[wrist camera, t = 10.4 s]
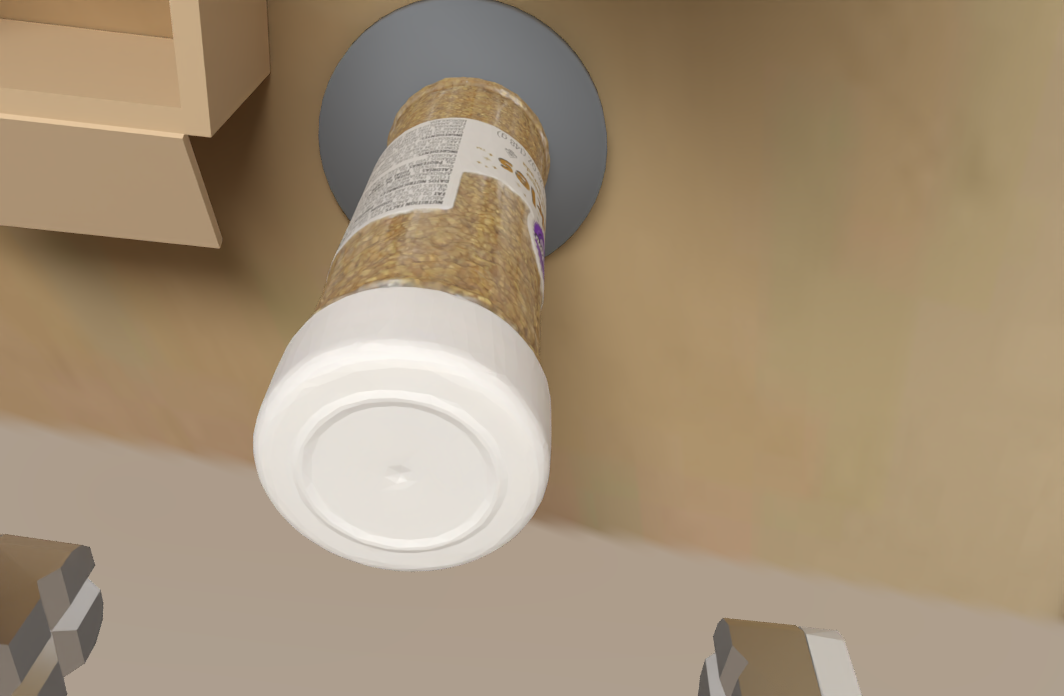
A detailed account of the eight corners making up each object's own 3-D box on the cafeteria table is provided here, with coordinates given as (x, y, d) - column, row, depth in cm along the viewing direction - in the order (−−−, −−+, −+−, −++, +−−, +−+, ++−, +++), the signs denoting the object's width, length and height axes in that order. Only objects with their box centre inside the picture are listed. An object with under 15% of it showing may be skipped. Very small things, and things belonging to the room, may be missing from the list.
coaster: (628, 15, 23) (630, 20, 22) (583, 281, 27) (584, 291, 27) (320, -23, 22) (314, -18, 22) (325, 254, 27) (321, 263, 26)
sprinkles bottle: (571, 198, 25) (591, 547, 14) (425, 246, 26) (332, 609, 15) (515, 44, 23) (484, 312, 11) (357, 102, 24) (183, 404, 12)
